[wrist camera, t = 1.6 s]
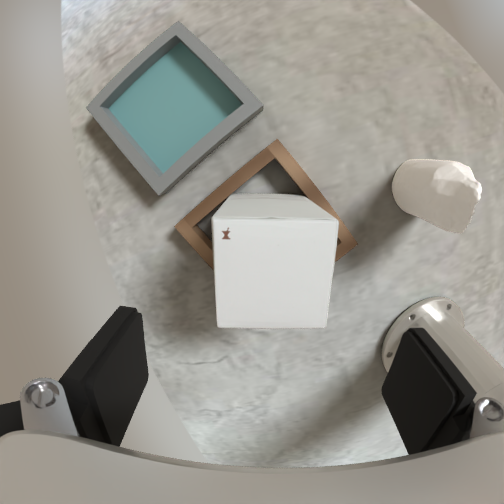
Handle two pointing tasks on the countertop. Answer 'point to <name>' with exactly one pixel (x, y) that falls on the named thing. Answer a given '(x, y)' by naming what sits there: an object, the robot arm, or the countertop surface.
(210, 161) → the countertop surface
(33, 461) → the robot arm
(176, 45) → the dock
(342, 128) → the countertop surface
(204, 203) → the wooden picture frame
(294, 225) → the supplement box
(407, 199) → the white rounded piece
